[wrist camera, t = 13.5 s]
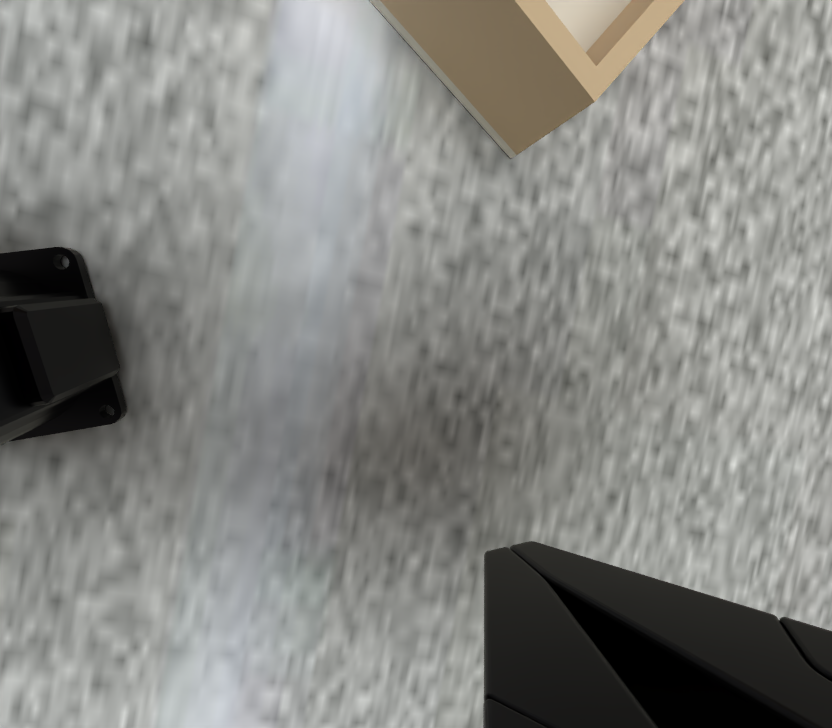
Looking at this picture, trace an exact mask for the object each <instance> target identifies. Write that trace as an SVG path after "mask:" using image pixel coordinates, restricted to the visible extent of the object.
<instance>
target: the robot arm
mask: <svg viewBox="0 0 832 728" xmlns="http://www.w3.org/2000/svg"><path fill="white" fill-rule="evenodd" d="M62 256H66V257H67V258H68V260H69V266H68V268H66V269H65V268H64V267H62V265H61V264H60V259H61V257H62ZM119 368H120V365H119V362H118V359H117V355H116V352H115V348H114V345H113V341H112V338H111V335H110V331H109V328H108V324H107V321H106V317H105V314H104V310H103V307H102V304H101V303H100V302H98V301H97V300H95V298H94V295H93V291H92V288H91V285H90V281H89V278H88V274H87V271H86V268H85V264H84V261H83V259H82V257H81V255H80V254H79V253H78V252H77V251H75V250H73V249H71V248H63V247H53V248H44V249H36V250H27V251H19V252H10V253H2V254H0V445H2V444H4V443H6V442H8V441H14V440H20V439H26V438H32V437H38V436H44V435H50V434H55V433H61V432H67V431H73V430H79V429H85V428H91V427H97V426H102V425H108V424H112V423H115V422H117V421H118V420H120V419H121V418H122V417H124V416H125V413H126V404H125V400H124V397H123V394H122V390H121V387H120V383H119V380H118V377H117V372H118V370H119ZM105 405H109V406H111V407H112V408H113V409H114V415H110V414H108V413H107V412H106V411H105ZM483 728H832V631H829V630H826V629H822V628H819V627H816V626H813V625H809V624H806V623H803V622H800V621H796V620H793V619H790V618H787V617H782V618H780V620H778V618H777V617H776V616H775V615H773V614H769V613H766V612H763V611H760V610H756V609H753V608H750V607H747V606H743V605H740V604H737V603H733V602H730V601H727V600H724V599H720V598H717V597H714V596H711V595H707V594H704V593H701V592H697V591H694V590H691V589H688V588H684V587H681V586H678V585H675V584H671V583H668V582H665V581H661V580H658V579H655V578H652V577H648V576H645V575H642V574H639V573H635V572H632V571H629V570H626V569H622V568H619V567H616V566H612V565H609V564H606V563H603V562H599V561H596V560H593V559H590V558H586V557H583V556H580V555H577V554H573V553H570V552H567V551H564V550H560V549H557V548H554V547H550V546H547V545H544V544H541V543H537V542H534V541H529V542H525V543H521V544H516V545H513V546H511V547H510V549H509V548H507V547H504V548H499V549H495V550H490V551H487V552H486V553H485V555H484V708H483Z"/></svg>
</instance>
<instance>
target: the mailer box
mask: <svg viewBox="0 0 832 728" xmlns="http://www.w3.org/2000/svg"><path fill="white" fill-rule="evenodd" d="M370 1H371V3H372V4H373V5H374V6H375V7H376V8H377V9H378V10H379V12H380V13H381V14H382V15H383V16H384V17H385V18H386V19H387V21H388V22H389V23H390V24H391V25H392V26H393V27H394V28H395V29H396V31H397V32H398V33H399V34H400V35H401V36H402V37H403V38H404V40H405V41H406V42H407V43H408V44H409V45H410V46H411V47H412V49H413V50H414V51H415V52H416V53H417V54H418V55H419V56H420V58H421V59H422V60H423V61H424V62H425V63H426V64H427V65H428V67H429V68H430V69H431V70H432V71H433V72H434V73H435V74H436V75H437V77H438V78H439V79H440V80H441V81H442V82H443V83H444V84H445V86H446V87H447V88H448V89H449V90H450V91H451V92H452V93H453V95H454V96H455V97H456V98H457V99H458V100H459V101H460V102H461V104H462V105H463V106H464V107H465V108H466V109H467V110H468V111H469V113H470V114H471V115H472V116H473V117H474V118H475V119H476V120H477V121H478V123H479V124H480V125H481V126H482V127H483V128H484V129H485V130H486V132H487V133H488V134H489V135H490V136H491V137H492V138H493V139H494V141H495V142H496V143H497V144H498V145H499V146H500V147H501V148H502V150H503V151H504V152H505V153H506V154H507V155H508V156H509V157H510V159H512V158H513V157H515V156H516V155H517V154H519V153H520V152H522V151H523V150H525V149H526V148H528V147H529V146H531V145H532V144H534V143H535V142H537V141H538V140H539V139H541V138H542V137H544V136H545V135H547V134H548V133H550V132H551V131H553V130H554V129H556V128H557V127H559V126H560V125H561V124H563V123H564V122H566V121H567V120H569V119H570V118H572V117H573V116H575V115H576V114H578V113H579V112H581V111H582V110H584V109H585V108H586V107H588V106H589V105H591V104H592V103H594V102H595V101H596V100H597V99H598V98H599V97H600V95H601V94H602V93H603V92H604V91H605V90H606V89H607V87H608V86H609V85H610V84H611V83H612V82H613V81H614V80H615V78H616V77H617V76H618V75H619V74H620V73H621V72H622V70H623V69H624V68H625V67H626V66H627V65H628V64H629V63H630V61H631V60H632V59H633V58H634V57H635V56H636V55H637V54H638V52H639V51H640V50H641V49H642V48H643V47H644V46H645V44H646V43H647V42H648V41H649V40H650V39H651V38H652V37H653V35H654V34H655V33H656V32H657V31H658V30H659V29H660V27H661V26H662V25H663V24H664V23H665V22H666V21H667V20H668V18H669V17H670V16H671V15H672V14H673V13H674V12H675V10H676V9H677V8H678V7H679V6H680V5H681V4H682V3H683V1H684V0H370Z"/></svg>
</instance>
